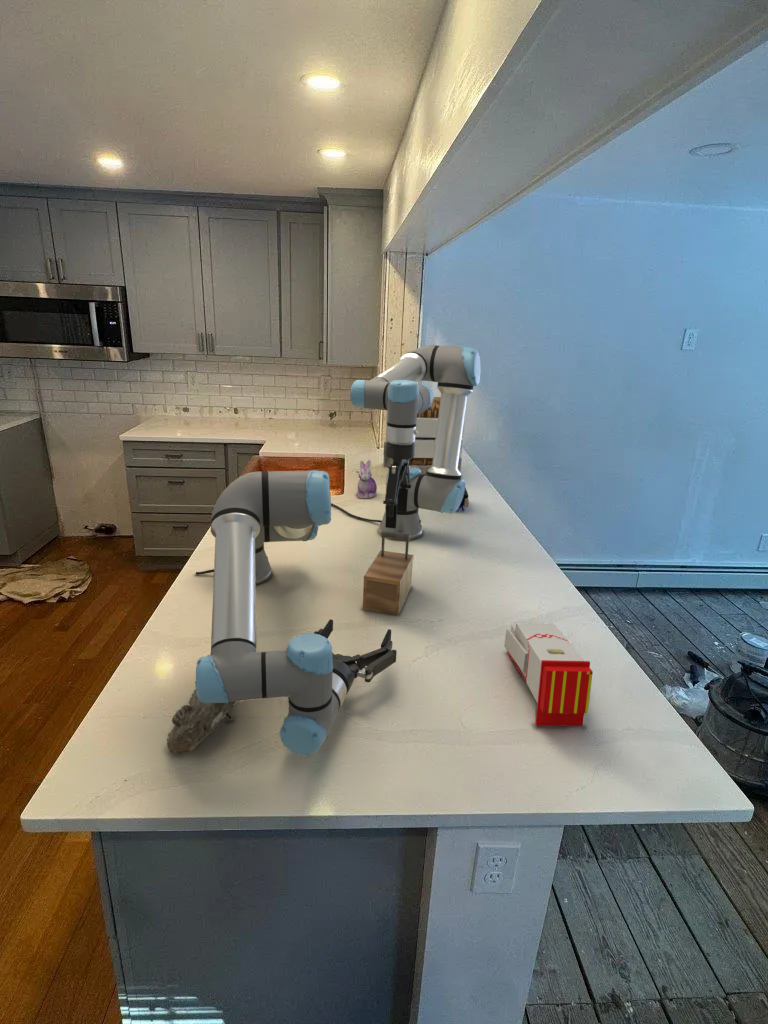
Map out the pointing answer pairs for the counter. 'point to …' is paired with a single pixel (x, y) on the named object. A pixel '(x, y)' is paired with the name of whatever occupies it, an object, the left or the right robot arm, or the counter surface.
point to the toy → (551, 672)
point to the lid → (390, 562)
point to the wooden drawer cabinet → (424, 437)
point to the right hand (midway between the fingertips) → (396, 519)
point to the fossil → (195, 723)
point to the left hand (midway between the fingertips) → (360, 629)
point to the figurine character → (464, 500)
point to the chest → (386, 595)
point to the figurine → (366, 481)
